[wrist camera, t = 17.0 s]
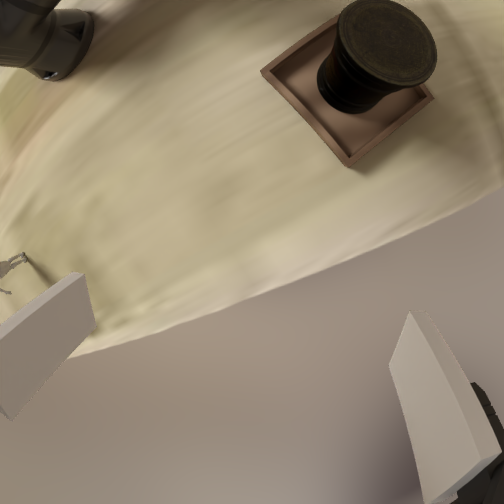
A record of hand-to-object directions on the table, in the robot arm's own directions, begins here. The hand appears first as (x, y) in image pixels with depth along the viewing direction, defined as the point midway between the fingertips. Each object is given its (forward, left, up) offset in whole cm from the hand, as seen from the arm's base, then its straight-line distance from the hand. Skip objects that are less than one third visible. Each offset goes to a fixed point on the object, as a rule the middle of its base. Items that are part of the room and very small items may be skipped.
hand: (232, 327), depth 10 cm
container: (-6, +18, -30) cm, 35 cm away
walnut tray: (-5, +18, -31) cm, 36 cm away
